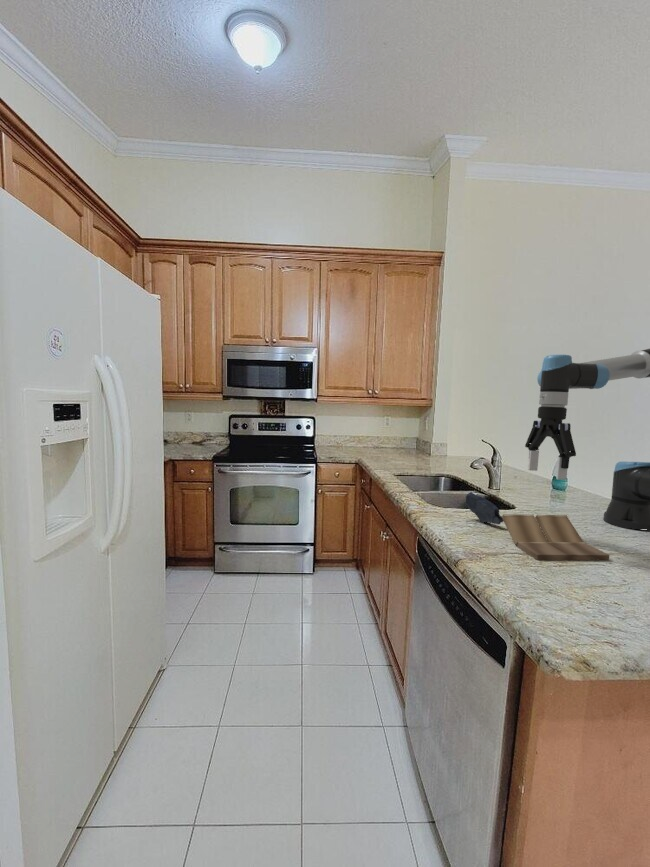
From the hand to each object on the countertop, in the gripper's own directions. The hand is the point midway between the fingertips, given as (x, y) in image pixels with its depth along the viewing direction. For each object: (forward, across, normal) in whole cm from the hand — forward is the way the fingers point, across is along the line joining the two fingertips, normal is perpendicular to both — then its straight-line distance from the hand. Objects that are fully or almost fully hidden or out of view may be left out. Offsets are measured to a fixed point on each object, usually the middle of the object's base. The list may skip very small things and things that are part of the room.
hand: (546, 474), depth 119 cm
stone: (+20, -14, -12) cm, 27 cm away
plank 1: (+17, +3, -8) cm, 19 cm away
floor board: (+20, +12, -2) cm, 24 cm away
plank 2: (+17, +3, +4) cm, 18 cm away
